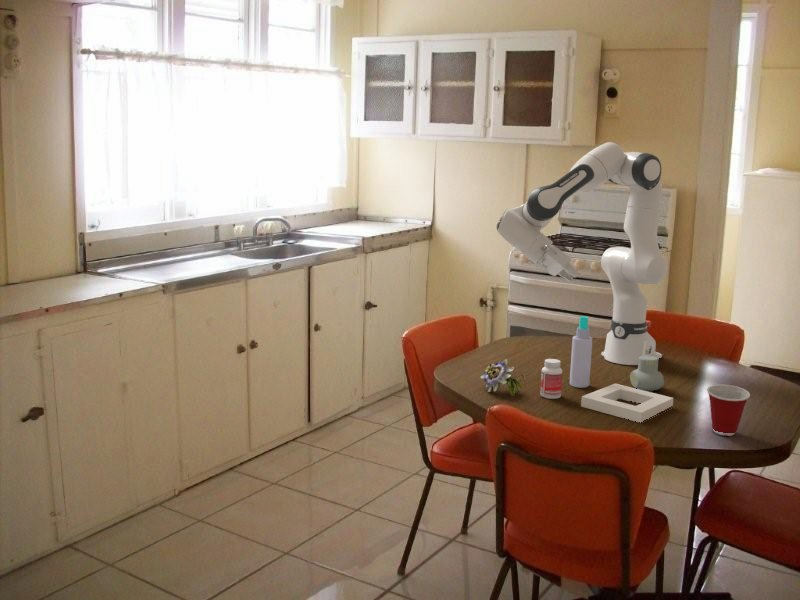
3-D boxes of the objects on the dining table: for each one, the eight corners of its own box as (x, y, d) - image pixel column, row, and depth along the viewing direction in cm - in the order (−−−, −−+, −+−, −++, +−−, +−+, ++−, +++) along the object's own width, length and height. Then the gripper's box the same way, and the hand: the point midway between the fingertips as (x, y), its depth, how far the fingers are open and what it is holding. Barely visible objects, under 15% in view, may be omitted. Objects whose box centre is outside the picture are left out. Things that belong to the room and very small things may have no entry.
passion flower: (489, 409, 265) (470, 374, 267) (514, 396, 271) (495, 362, 273) (510, 398, 256) (490, 362, 258) (535, 385, 262) (515, 350, 264)
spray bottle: (582, 389, 269) (587, 320, 265) (565, 385, 273) (570, 316, 269) (592, 385, 274) (597, 317, 269) (575, 381, 278) (580, 313, 273)
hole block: (614, 392, 267) (615, 383, 266) (672, 407, 254) (673, 397, 253) (580, 406, 253) (581, 396, 253) (640, 422, 240) (641, 412, 240)
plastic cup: (701, 436, 231) (706, 393, 229) (703, 423, 241) (707, 382, 239) (745, 443, 227) (750, 399, 225) (745, 429, 237) (750, 387, 235)
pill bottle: (565, 397, 261) (567, 361, 259) (550, 400, 258) (552, 364, 255) (550, 391, 266) (553, 356, 264) (535, 394, 263) (537, 359, 261)
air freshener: (665, 394, 267) (668, 362, 265) (638, 394, 266) (641, 362, 264) (652, 383, 278) (655, 353, 276) (627, 383, 277) (629, 352, 275)
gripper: (551, 236, 263) (587, 265, 262) (541, 247, 284) (575, 274, 283) (538, 252, 263) (574, 281, 262) (529, 262, 283) (562, 289, 282)
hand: (574, 277), depth 272 cm, fingers open, 8 cm apart
